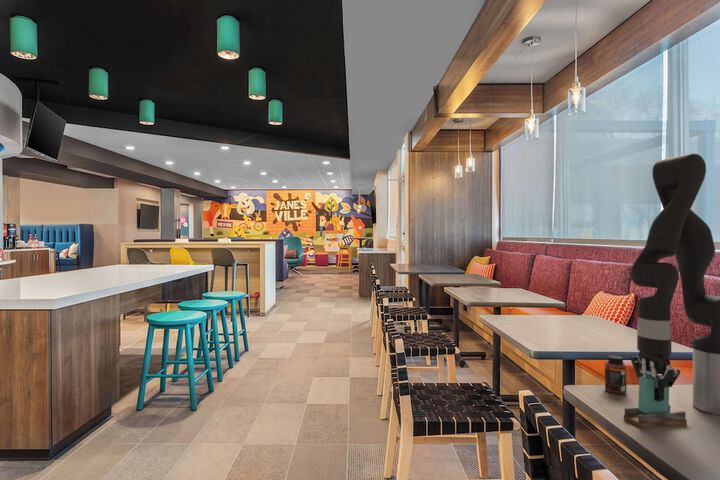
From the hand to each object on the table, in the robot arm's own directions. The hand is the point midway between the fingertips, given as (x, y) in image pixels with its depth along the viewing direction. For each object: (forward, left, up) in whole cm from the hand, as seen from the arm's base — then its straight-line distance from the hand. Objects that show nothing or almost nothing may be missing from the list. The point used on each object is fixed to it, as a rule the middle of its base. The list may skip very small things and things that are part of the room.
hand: (653, 398), depth 108 cm
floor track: (0, 0, -6) cm, 6 cm away
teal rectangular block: (0, 0, -3) cm, 3 cm away
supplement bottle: (-7, -21, -7) cm, 23 cm away
